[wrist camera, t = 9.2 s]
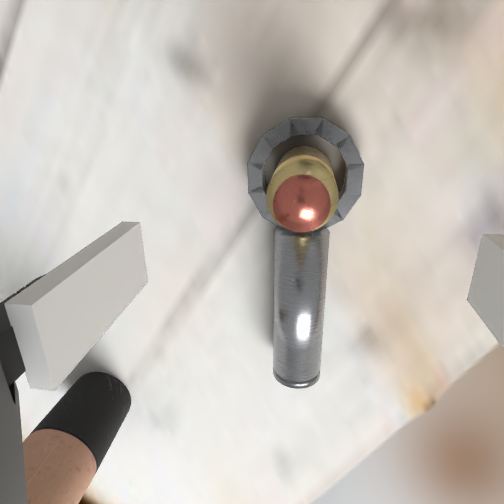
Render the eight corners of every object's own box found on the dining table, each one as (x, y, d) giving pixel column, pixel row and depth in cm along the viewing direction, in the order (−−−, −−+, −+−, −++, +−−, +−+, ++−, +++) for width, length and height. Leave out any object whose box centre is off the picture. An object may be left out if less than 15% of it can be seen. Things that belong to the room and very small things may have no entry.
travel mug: (113, 429, 48) (-9, 635, 30) (62, 393, 47) (-97, 585, 28) (145, 397, 45) (33, 603, 27) (93, 358, 44) (-62, 546, 26)
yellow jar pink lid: (276, 146, 32) (263, 165, 23) (334, 147, 31) (344, 167, 22) (275, 201, 34) (262, 239, 25) (329, 203, 33) (337, 242, 24)
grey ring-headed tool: (250, 117, 31) (241, 120, 27) (365, 117, 30) (373, 120, 26) (253, 354, 40) (247, 384, 36) (341, 360, 39) (345, 392, 35)
